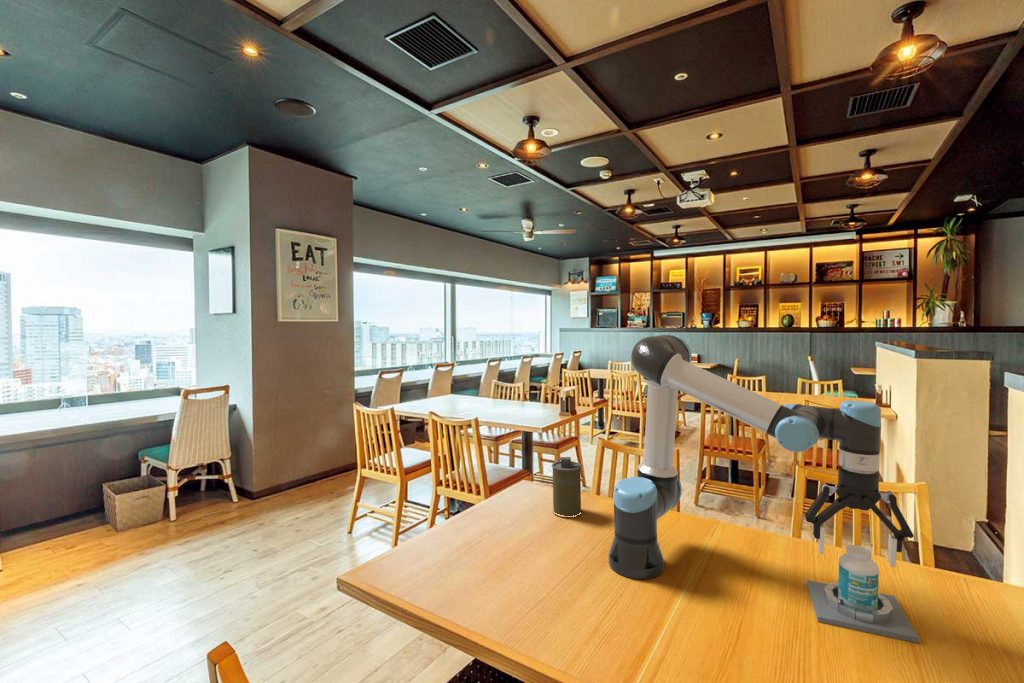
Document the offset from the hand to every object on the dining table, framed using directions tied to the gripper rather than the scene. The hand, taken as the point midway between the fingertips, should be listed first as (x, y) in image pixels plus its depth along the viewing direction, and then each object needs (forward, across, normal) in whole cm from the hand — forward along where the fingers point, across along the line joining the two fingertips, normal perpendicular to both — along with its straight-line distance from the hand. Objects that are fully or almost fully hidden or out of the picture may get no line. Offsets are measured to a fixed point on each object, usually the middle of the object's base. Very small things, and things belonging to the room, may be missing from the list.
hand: (855, 558), depth 107 cm
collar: (+11, +1, 0) cm, 11 cm away
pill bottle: (+12, +1, 0) cm, 12 cm away
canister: (+15, -79, +28) cm, 85 cm away
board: (+12, +1, 0) cm, 13 cm away
